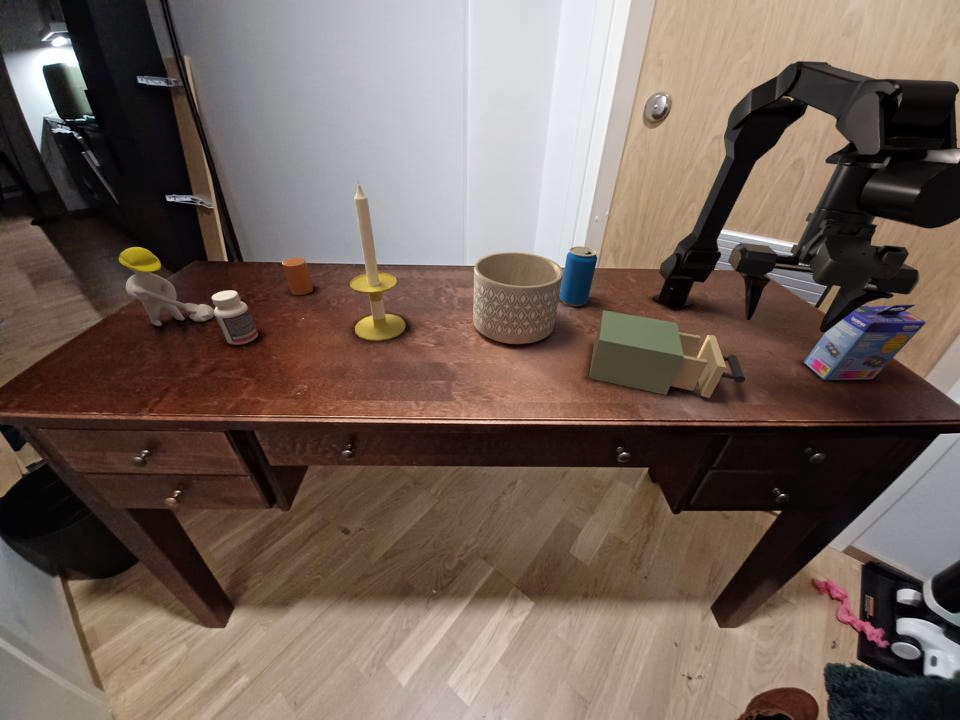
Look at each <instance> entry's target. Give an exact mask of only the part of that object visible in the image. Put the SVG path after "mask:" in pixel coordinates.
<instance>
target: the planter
mask: <svg viewBox="0 0 960 720" xmlns="http://www.w3.org/2000/svg"><path fill="white" fill-rule="evenodd" d="M563 274H564V269H562V267H561V266H560V265H559V264H558V263H557V262H556V261H554V260H551V259H550V258H547V257H544V256H541V255H538V254H533V253H532V254H531V253H526V252H517V251H516V252H514V251H511V252H510V251H509V252H498V253H497V252H496V253H492V254H488V255H485V256H483V257H481V258H480V259H478V260H477V261H476V262H475V263H474V267H473V304H472V305H473V307H472V308H473V309H472V323H473V326H474V327H475V329H476V330H477V331H478V332H479V333H480V334H481V335H483V336H485V337H486V338H489V339H491V340H493V341H496V342H499V343H503V344H509V345H525V344H531V343H536V342H538V341H541V340H543V339H545V338H547V337H548V336H550V335H551V333H552V332H553V331H554V327H555V322H556V315H557V311H558V304H559V300H560V291H561V285H562V280H563Z"/></svg>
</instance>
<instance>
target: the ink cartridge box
mask: <svg viewBox="0 0 960 720" xmlns="http://www.w3.org/2000/svg"><path fill="white" fill-rule="evenodd" d="M915 306H916V304H913V303H912V304H892V305H876V306H868V305H862V306H861V307H859V308H858V309H856V310H855V311H853V312H852V313H850V314H849V315H848V316H846V317H845V318H844V319H843V320H841V321H840V322H839V323H837V324H836V325H835V326H833V327H832V328H831V329H830V330H828V331H827V332H825V333H824V334H823V336H822V337H821V338H820V339H819V341H818V342H817V343H816V345H815V346H814V347H813V349H811V352H810V353H809V354H808V356H806V358H805V359H804V361H803V364H805V365H806V366H807V367H808V368H809V369H810V370H812V372H814V373H815V374H816V375H817V376H819V377H820V378H821V379H822V380H823V381H858V380H859V381H863V380H866V381H867V380H869V381H870V380H873V379H874V378H876V376H877V375H878V374H879V373H880V372H881V371H882V370H883V369H884V368H885V367H886V366H887V365H888V364H889V363H890V362H891V360H893V359H894V358H895V357H896V355H897V354H899V352H900V351H901V350H902V349H903V348H904V347H905V346H906V345H907V344H908V342H910V340H912V339H913V338H914V336H915V335H917V333H918V332H919V331H920V330H921V329H922V328H923V327H924V325H925V324H927V321H925V320H924V319H922V318H920V317H918V316H917V315H915V314H913V313H911V312H909V311H907V310H909V309H911V308H913V307H915Z"/></svg>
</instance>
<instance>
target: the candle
mask: <svg viewBox="0 0 960 720" xmlns="http://www.w3.org/2000/svg"><path fill="white" fill-rule="evenodd" d="M356 186H357V187H356V193H355V195H354V197H353V201H354V208H355V213H356V214H355V215H356V219H357V225H358V231H359V237H360V243H361V249H362V255H363V256H362V257H363V262H364V267H365V273H363V274H360V275H358V276H355V277H353V278H352V279H351V280H350V281H349V286H350V289H352V290H353V291H354V292H356V293H359V294H367V295H368V298H369V303H370V310H371V311H370V312H371V315H369V316H366V317H364V318H362V319H361V320H359V321H358V322H357V323H356V324H355V326H354V333H355V335H356V336H358V337H359V338H360V339H363V340H366V341H371V342H381V341H388V340H391V339H394V338H397V337H399V336H400V335H401V334H402V333H404V331H405V330H406V327H407V325H406V322H405V320H404V319H403V318H402V317H400V316H399V315H395V314H391V313H386V311H385V304H384V297H383V293H385V292H388V291H390V290H392V289H393V288H395V287H396V286H397V284H398V280H397V277H395V276H394V275H392V274H390V273H386V272H379V269H378V262H377V256H376V254H377V253H376V248H375V247H376V246H375V241H374V240H375V239H374V234H373V233H374V232H373V228H372V227H373V226H372V220H371V213H370V212H371V211H370V207H369V206H370V205H369V200H368V197H367V196H366V195H365V193H364V191H363V190H362V187H361V184H360V182H359V181H357V185H356Z"/></svg>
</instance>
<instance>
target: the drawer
mask: <svg viewBox="0 0 960 720" xmlns="http://www.w3.org/2000/svg"><path fill="white" fill-rule="evenodd" d="M679 335H680V340H681V345H682V350H683V355H684V357H683V359H682V361H681V363H680V366H679V368H678V370H677V372H676V375H675V377H674V379H673V381H672V383H671V386H670V387H674V388H677V389H683V390H688V391H694V390H695V388H696V386H697V384H698V387H699V393H700V396H701V397H702V398H708V399H709V398H711V396H712V395H713V392H714V391H715V389H716V387H717V385H718V383H719V382H720V380H721V378H726V379H730V380H734V382H735V383H736V384H742V383H744V382H745V381H746V377H745V374H744V372H743V369H742V366H741V364H740V362H739V360H738V357H737V355H735V354H730V355H727V356H726V355H723V353H722V351H721V348H720V345H719V343H718V339H717V336H716V335H712V334H707V335H706V337H705V340H704V341H703V344H702V346H701V348H700V350H699V352H698V354H697V356H694V354H695V351H696V349H697V348H698V345H699V342H700V340H701V336H700V335H697V334H691V333H686V332H681V331H679ZM725 362H727V364H728V367H729V369H730V371H731V373H729V372H725V370H726V369H727V365H726V363H725Z"/></svg>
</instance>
